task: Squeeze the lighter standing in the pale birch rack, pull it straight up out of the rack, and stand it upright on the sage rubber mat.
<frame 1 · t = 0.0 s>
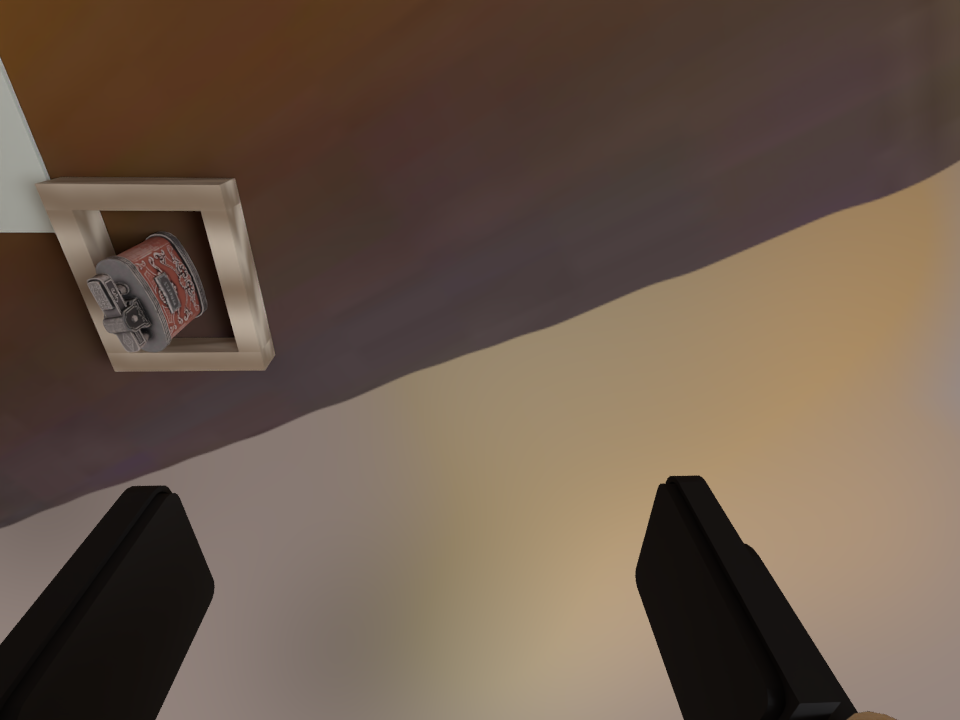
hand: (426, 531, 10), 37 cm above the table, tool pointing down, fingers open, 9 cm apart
lighter: (180, 274, 45), resting in slot holder
slot holder: (179, 274, 44), on the table
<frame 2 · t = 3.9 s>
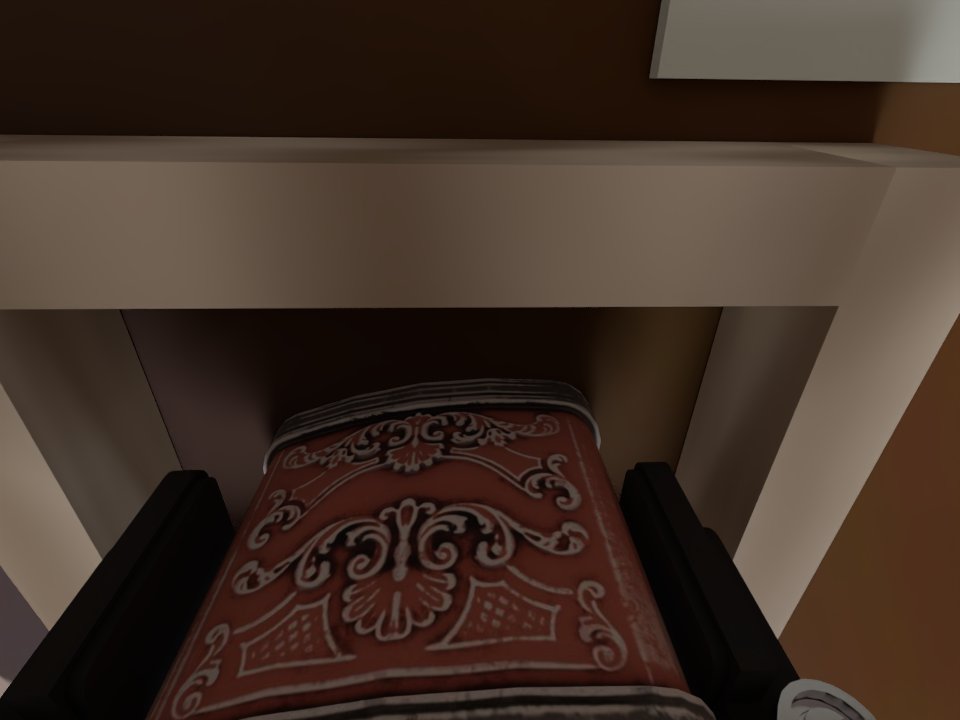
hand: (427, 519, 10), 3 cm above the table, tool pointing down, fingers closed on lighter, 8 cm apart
lighter: (433, 433, 12), resting in slot holder, touching gripper
slot holder: (434, 440, 12), on the table
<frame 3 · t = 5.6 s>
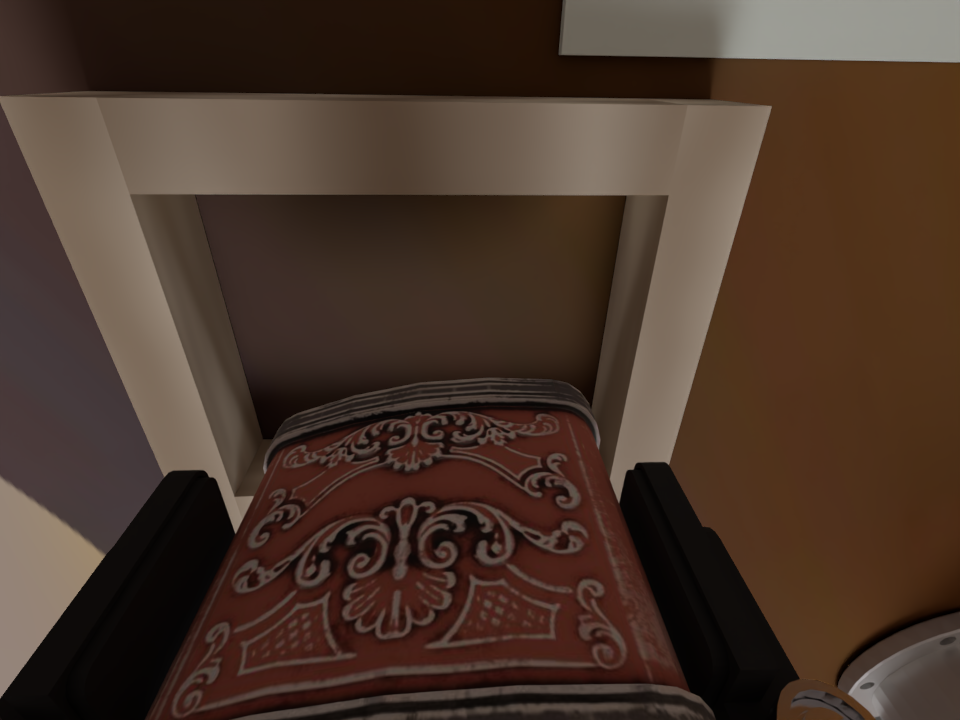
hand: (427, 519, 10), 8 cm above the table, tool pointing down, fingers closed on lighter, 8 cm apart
lighter: (433, 432, 12), point 5 cm above the table, touching gripper
slot holder: (422, 323, 17), on the table
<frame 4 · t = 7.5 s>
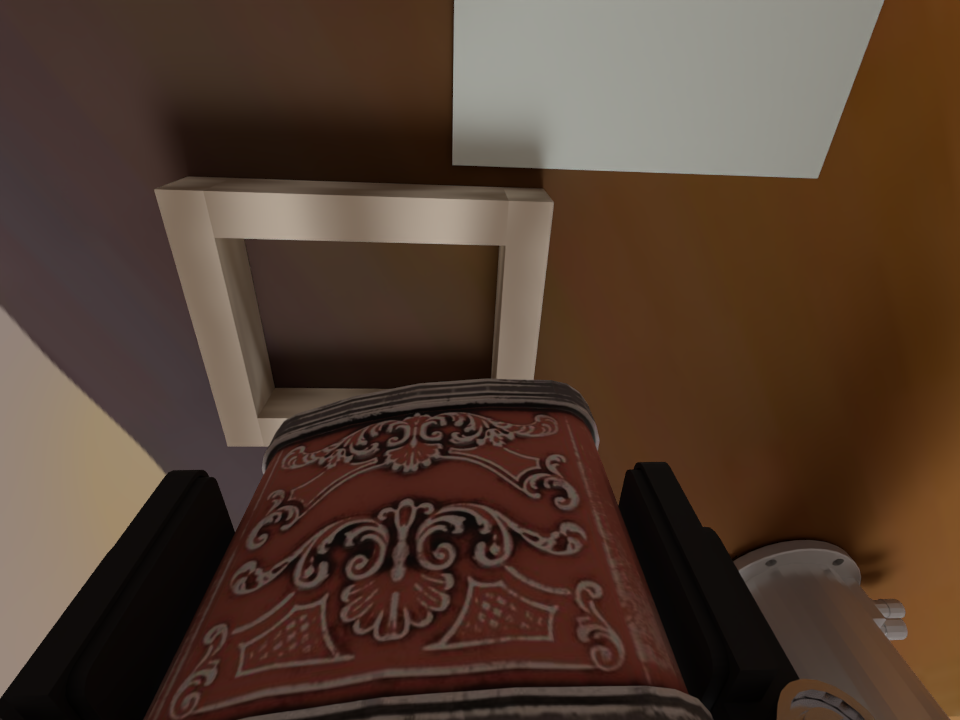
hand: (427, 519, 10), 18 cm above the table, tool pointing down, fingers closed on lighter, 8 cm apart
lighter: (432, 433, 12), point 15 cm above the table, touching gripper
mat: (665, 21, 21), on the table
slot holder: (378, 314, 27), on the table
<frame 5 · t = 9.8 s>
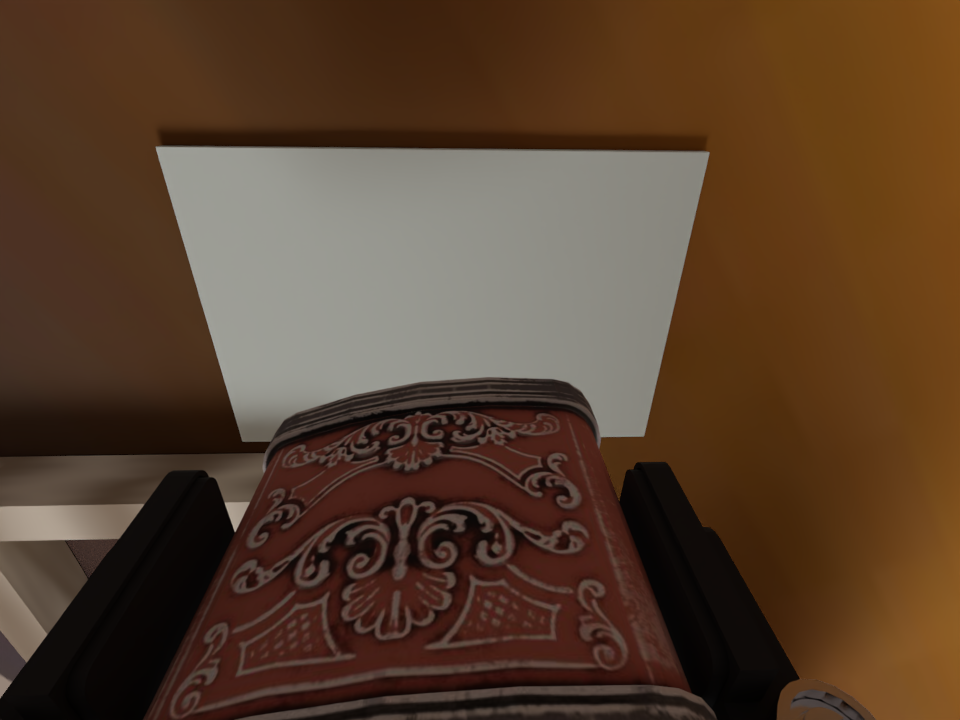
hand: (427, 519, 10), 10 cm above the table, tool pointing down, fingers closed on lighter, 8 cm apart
lighter: (433, 432, 12), point 8 cm above the table, touching gripper
mat: (443, 313, 19), on the table
slot holder: (203, 556, 26), on the table
when the fingers open (4 cm above the table, at t = 11.6 s): lighter moves 1 cm, resting on mat.
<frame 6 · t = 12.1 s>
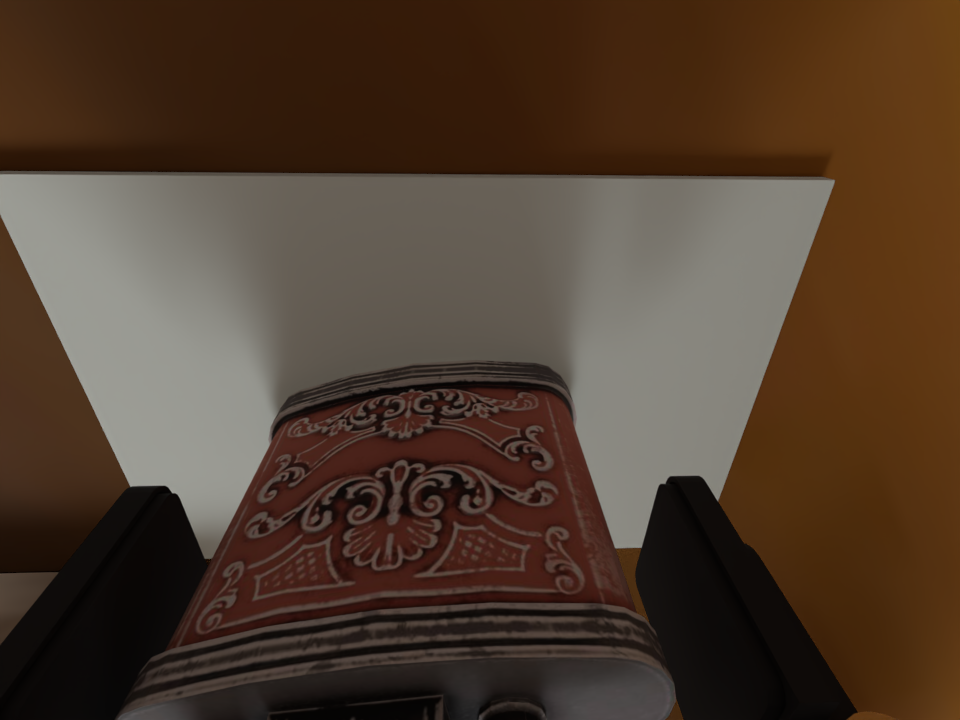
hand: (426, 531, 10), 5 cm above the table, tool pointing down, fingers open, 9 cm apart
lighter: (425, 411, 14), resting on mat
mat: (434, 399, 14), on the table
slot holder: (132, 680, 20), on the table
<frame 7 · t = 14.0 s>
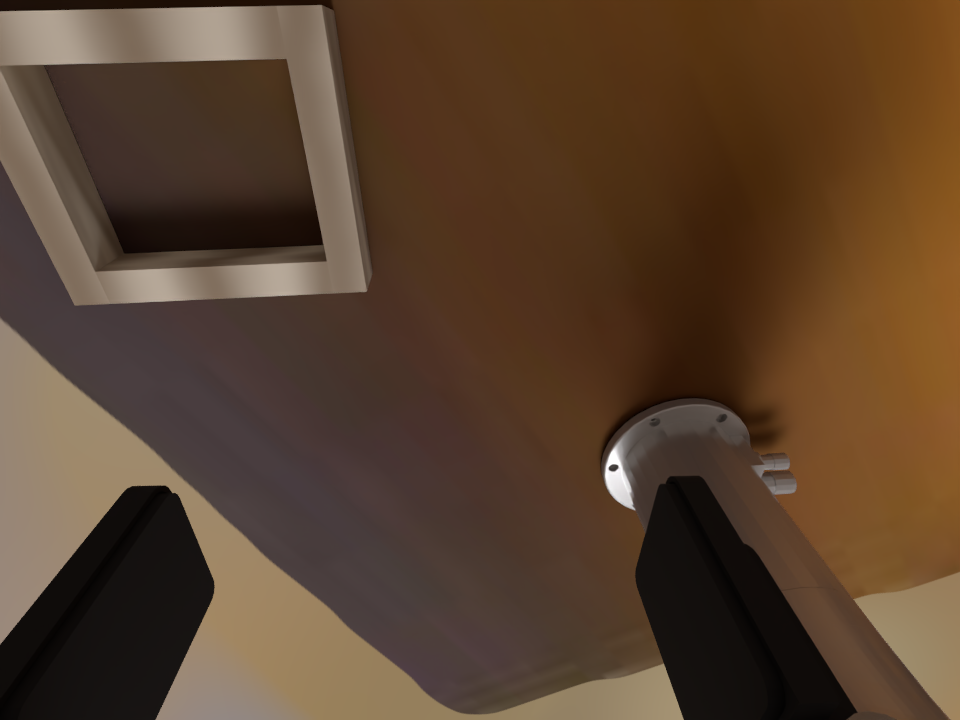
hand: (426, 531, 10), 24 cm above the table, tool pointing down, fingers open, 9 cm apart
slot holder: (205, 164, 28), on the table
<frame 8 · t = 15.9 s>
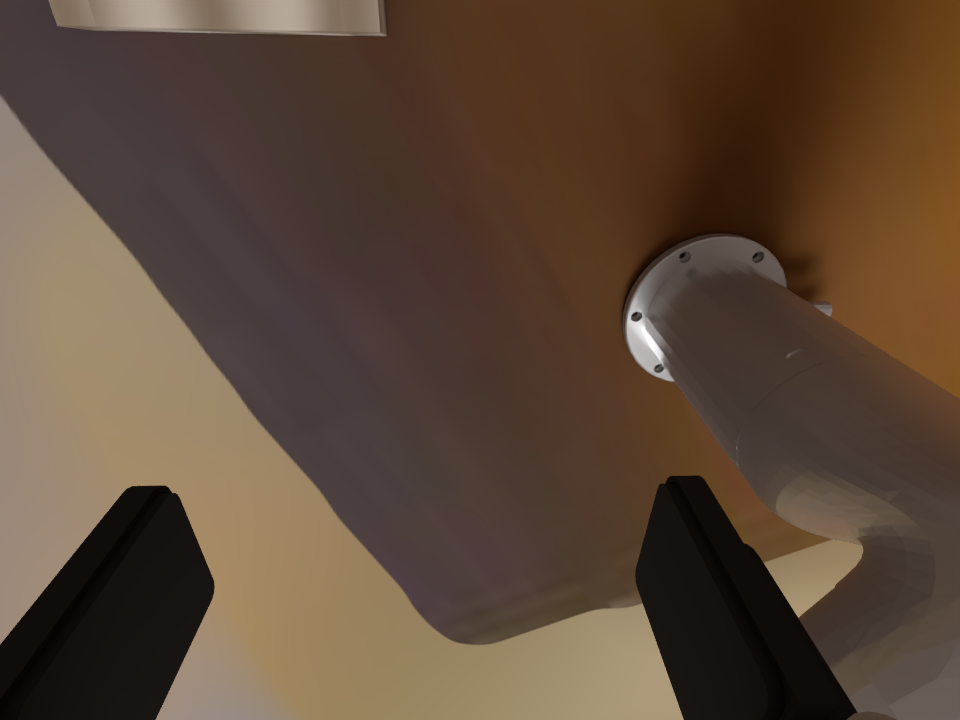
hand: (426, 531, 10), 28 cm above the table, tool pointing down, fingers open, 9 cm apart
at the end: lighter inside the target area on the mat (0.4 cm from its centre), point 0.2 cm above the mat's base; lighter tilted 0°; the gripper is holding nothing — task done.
